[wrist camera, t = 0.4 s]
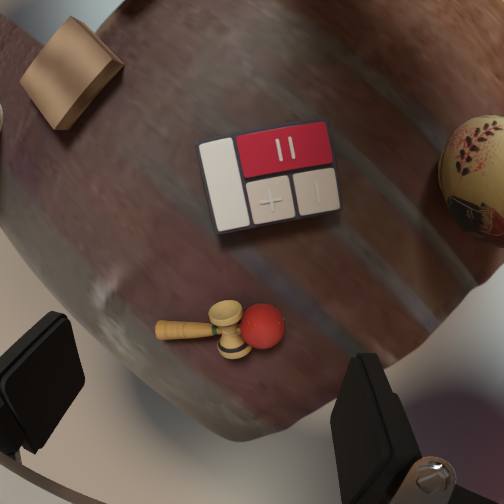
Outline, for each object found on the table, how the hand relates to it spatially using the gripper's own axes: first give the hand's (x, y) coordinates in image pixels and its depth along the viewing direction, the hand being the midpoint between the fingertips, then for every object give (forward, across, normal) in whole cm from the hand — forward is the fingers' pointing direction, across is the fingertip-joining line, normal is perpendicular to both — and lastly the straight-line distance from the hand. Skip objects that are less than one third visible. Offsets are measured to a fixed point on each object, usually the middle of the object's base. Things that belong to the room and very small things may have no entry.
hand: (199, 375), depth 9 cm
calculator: (+31, -2, -4) cm, 31 cm away
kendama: (+31, +3, +17) cm, 35 cm away
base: (+31, +27, -18) cm, 44 cm away
